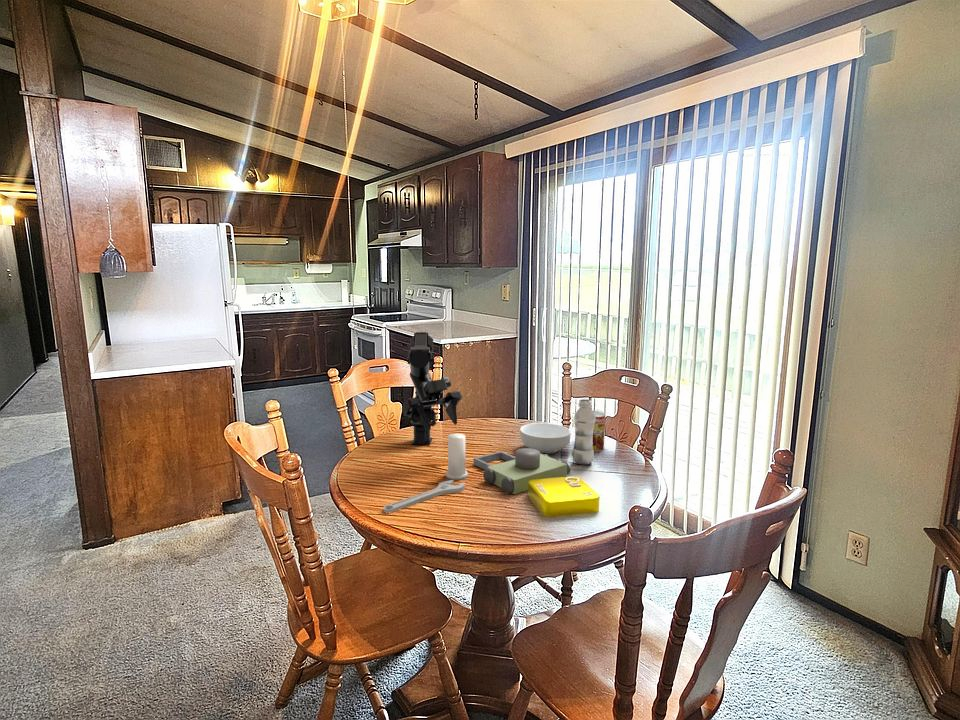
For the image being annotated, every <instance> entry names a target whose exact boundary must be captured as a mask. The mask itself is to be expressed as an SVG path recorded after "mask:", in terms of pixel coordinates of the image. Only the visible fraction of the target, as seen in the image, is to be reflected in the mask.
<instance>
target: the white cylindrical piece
mask: <svg viewBox="0 0 960 720" xmlns="http://www.w3.org/2000/svg"><path fill="white" fill-rule="evenodd" d="M468 475H469V472H468V471H467V469H466V435H465V434H463V433H451V434H448V436H447V470H446V471H445V478H446V479H448V480H454V481H462V480H465V479H467V478H468V477H469V476H468Z"/></svg>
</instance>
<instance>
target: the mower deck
mask: <svg viewBox="0 0 960 720" xmlns="http://www.w3.org/2000/svg"><path fill="white" fill-rule="evenodd" d="M514 452H515V454H514V455H512V454H509V453H507V452H504V451H502V450H500V451H497V452H492V453H488V454H484V455H481V456H477V457H474V458H473V465H474V466H476V467H479V468H480V469H483V470H484V471H483V479H484V481H485V483H486V484H488V485H490V484H493V485H495V486H496V487H499V488H501V489H502V491H503V492H504V493H505V494H510V493H511V494H512V495H517V494H519V493H523V492H527V491H528V482H529V481H530V480H533V479H545V478H557V477H568V475H570V472H571V468H570V465H569V463H568V462H567V461H565V460H564V461H559V460H557V459H556V458H555V459H554V458H552V457H550V456H549V454H543V453H540V452H539V451H538V450H536V449H531V448H528V447H524V448H523V447H522V448H518V449H516V450H515V451H514ZM496 459H497V460H500V459H502V460H504V461H505V462H500V463H497V464H491V463H489V462H492V461H496Z"/></svg>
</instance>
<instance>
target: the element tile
mask: <svg viewBox="0 0 960 720" xmlns="http://www.w3.org/2000/svg"><path fill="white" fill-rule="evenodd" d="M527 497H528V498H529V499H530V500H531V502H532V503H533V505H534V506H535V507H536V509H537V510H538V511H539V513H540V514H541V515H542V516H544V517H547V518H556V517H557V518H559V517H567V516H577V515H586V514H587V515H588V514H595V513H598V512H599V511H600V495H599V493H597V492H596V491H595V490H594V489H593V487H591V486H590V485H589V484H588V483H587V482H585V480H583V479H582V478H581V477H580V476H577V475H571V476H570V475H569V476H567V477H557V478H545V479H533V480H530V481H529V482H528V490H527ZM558 516H559V517H558Z"/></svg>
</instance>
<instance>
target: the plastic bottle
mask: <svg viewBox="0 0 960 720" xmlns="http://www.w3.org/2000/svg"><path fill="white" fill-rule="evenodd" d="M578 407H579V408H578V409H577V411H576V412H575V414H574V416H573V422H574V443H573V449H572V453H571V457H572V460H573V462H574V463H575V464H578V465H584V466H585V465H590V464H592V462H593V461H594V457H595V452H594V451H593V430H594V425H595V419H596V417H595V414H594V412H593V411H594V410H592V400H590V399H589V398H588V399H585V398H583V399H579V401H578Z"/></svg>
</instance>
